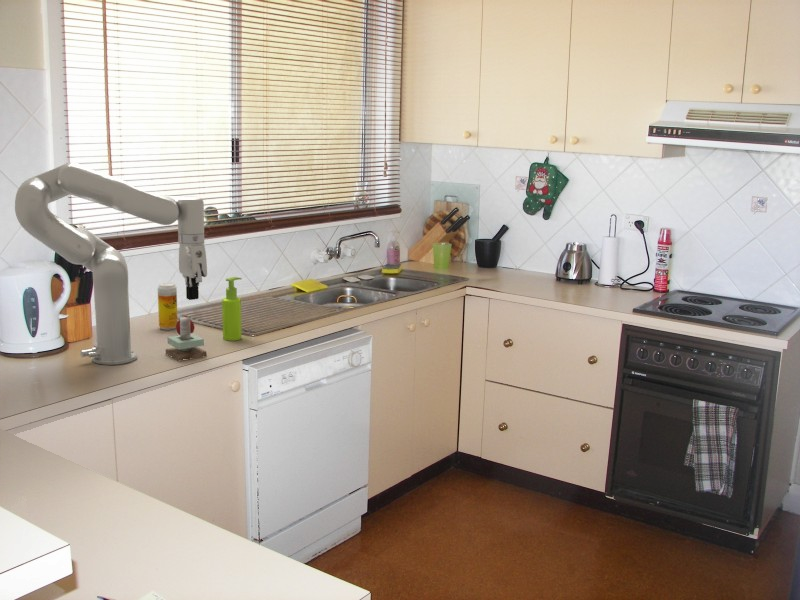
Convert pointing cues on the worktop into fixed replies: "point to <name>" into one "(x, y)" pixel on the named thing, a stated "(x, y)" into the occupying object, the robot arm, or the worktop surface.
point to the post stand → (185, 335)
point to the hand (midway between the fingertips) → (192, 298)
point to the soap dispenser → (231, 312)
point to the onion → (190, 326)
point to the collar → (185, 342)
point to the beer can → (167, 306)
